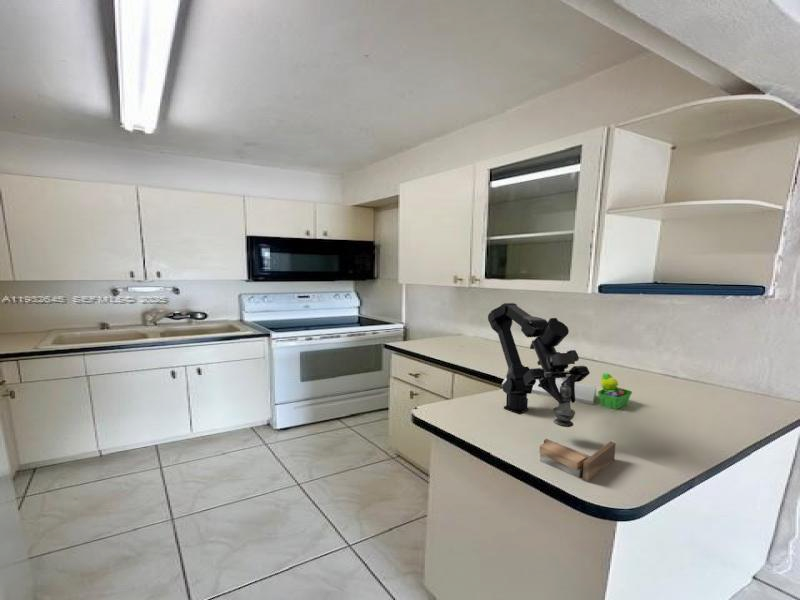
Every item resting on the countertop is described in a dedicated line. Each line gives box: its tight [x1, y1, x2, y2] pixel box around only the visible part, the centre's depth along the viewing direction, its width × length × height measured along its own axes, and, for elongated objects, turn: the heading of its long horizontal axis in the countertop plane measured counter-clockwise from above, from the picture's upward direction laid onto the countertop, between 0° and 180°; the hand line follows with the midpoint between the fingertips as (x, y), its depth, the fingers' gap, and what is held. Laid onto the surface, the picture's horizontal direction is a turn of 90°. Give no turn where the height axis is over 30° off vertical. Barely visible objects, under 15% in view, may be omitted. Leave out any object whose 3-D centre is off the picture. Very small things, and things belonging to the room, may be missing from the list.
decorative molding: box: [501, 377, 597, 405], centre depth 152 cm, size 34×5×10 cm
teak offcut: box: [538, 441, 586, 470], centre depth 95 cm, size 10×4×2 cm, turn 37°
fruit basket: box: [597, 372, 633, 411], centre depth 139 cm, size 11×9×11 cm
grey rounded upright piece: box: [552, 383, 576, 428], centre depth 107 cm, size 6×6×12 cm
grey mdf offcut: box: [539, 453, 583, 478], centre depth 95 cm, size 10×4×2 cm, turn 42°
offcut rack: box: [543, 438, 616, 483], centre depth 98 cm, size 14×16×6 cm
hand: (567, 402), depth 106 cm, fingers closed on grey rounded upright piece, 3 cm apart
